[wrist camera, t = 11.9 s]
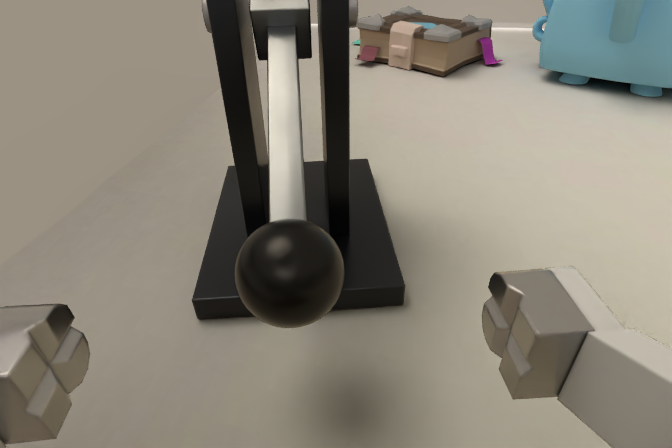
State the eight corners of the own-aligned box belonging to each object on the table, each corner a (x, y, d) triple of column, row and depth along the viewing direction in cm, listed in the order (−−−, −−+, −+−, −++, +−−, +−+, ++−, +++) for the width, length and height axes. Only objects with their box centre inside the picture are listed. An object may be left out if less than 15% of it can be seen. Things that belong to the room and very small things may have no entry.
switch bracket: (403, 305, 19) (437, -30, 12) (196, 320, 19) (94, -19, 11) (367, 174, 29) (372, -54, 21) (231, 181, 28) (188, -49, 21)
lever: (347, 333, 14) (352, 309, 11) (244, 341, 13) (221, 317, 11) (320, 18, 19) (319, -53, 17) (248, 21, 19) (234, -50, 16)
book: (311, 55, 54) (309, 11, 51) (371, 37, 61) (373, -2, 58) (455, 87, 43) (463, 33, 40) (508, 60, 50) (517, 13, 47)
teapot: (571, 109, 37) (630, -81, 30) (504, 58, 51) (532, -82, 43) (776, 103, 38) (889, -86, 30) (656, 54, 51) (712, -86, 43)
